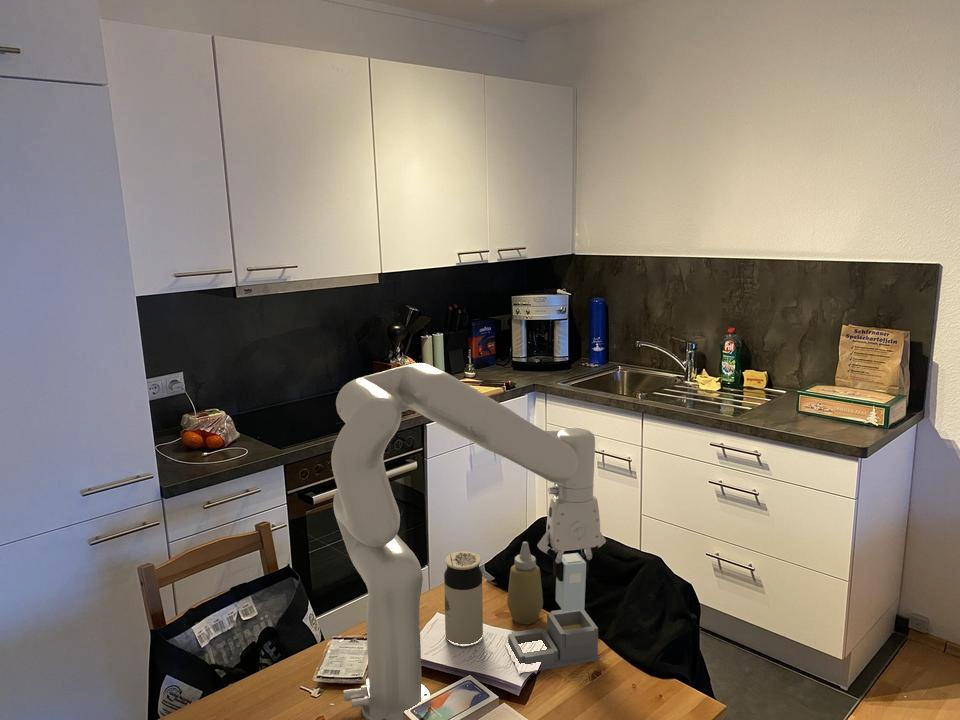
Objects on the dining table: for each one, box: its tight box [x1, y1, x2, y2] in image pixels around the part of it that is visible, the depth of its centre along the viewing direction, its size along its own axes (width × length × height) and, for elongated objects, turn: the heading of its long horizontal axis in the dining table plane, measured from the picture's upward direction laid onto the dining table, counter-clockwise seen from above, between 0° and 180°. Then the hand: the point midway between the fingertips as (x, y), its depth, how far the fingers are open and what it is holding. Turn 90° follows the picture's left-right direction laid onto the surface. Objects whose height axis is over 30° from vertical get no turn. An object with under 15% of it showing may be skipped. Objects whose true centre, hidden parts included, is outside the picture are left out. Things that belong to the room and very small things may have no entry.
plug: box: [555, 552, 587, 612], centre depth 144 cm, size 4×5×10 cm
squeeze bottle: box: [506, 541, 544, 625], centre depth 157 cm, size 8×8×18 cm
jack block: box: [507, 608, 600, 672], centre depth 145 cm, size 17×10×6 cm, turn 104°
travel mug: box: [443, 550, 484, 644], centre depth 150 cm, size 8×8×18 cm
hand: (570, 576), depth 144 cm, fingers closed on plug, 4 cm apart
